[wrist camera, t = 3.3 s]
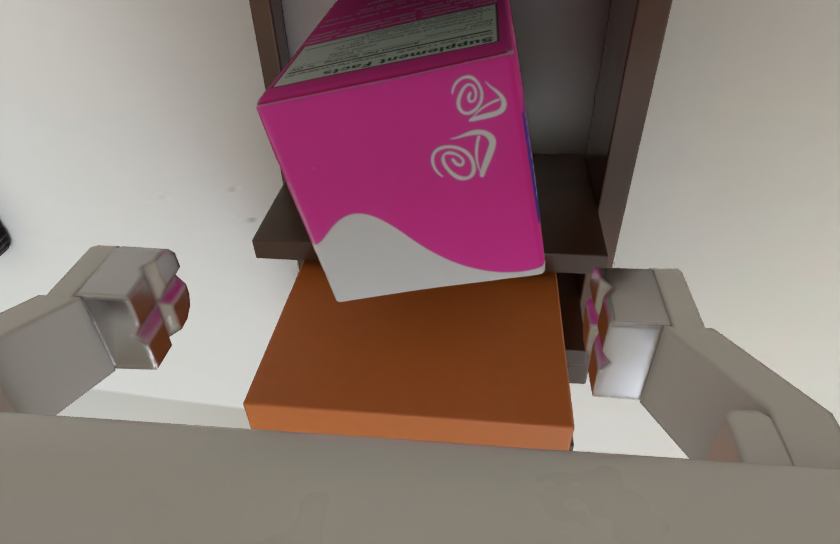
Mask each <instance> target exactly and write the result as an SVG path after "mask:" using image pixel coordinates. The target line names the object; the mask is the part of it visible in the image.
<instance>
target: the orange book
mask: <svg viewBox="0 0 840 544" xmlns="http://www.w3.org/2000/svg"><path fill="white" fill-rule="evenodd" d="M243 404H244V408H245V411H246V414H247V417H248V420H249V424H250V427H251V429H259V430H273V431H288V432H303V433H318V434H333V435H347V436H362V437H377V438H391V439H405V440H419V441H433V442H447V443H462V444H476V445H490V446H504V447H518V448H532V449H548V450H563V451H569V449H570V445H571V440H572V436H573V431H574V419H573V411H572V402H571V394H570V386H569V377H568V369H567V360H566V352H565V343H564V335H563V326H562V318H561V309H560V301H559V292H558V284H557V275H556V272H543V273H542V274H538V275H531V276H523V277H516V278H507V279H499V280H492V281H484V282H476V283H468V284H460V285H452V286H443V287H436V288H429V289H421V290H415V291H408V292H401V293H395V294H388V295H382V296H375V297H369V298H363V299H357V300H350V301H344V302H338V301H336V298H335V296H334V294H333V291H332V289H331V287H330V284H329V282H328V280H327V277H326V275H325V272H324V270H323V268H322V266H321V263H320V261H311V260H304V262H303V264H302V266H301V269H300V271H299V273H298V276H297V278H296V280H295V283H294V285H293V287H292V290H291V292H290V295H289V297H288V299H287V302H286V304H285V306H284V309H283V311H282V313H281V316H280V318H279V320H278V323H277V325H276V328H275V330H274V332H273V335H272V337H271V339H270V342H269V344H268V346H267V349H266V351H265V353H264V356H263V358H262V361H261V363H260V365H259V368H258V370H257V372H256V375H255V377H254V379H253V382H252V384H251V386H250V389H249V391H248V394H247V396H246V398H245V401H244V403H243Z"/></svg>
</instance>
